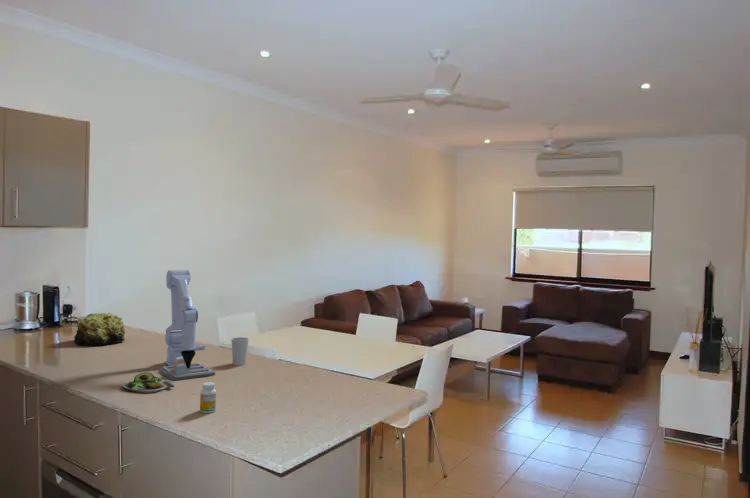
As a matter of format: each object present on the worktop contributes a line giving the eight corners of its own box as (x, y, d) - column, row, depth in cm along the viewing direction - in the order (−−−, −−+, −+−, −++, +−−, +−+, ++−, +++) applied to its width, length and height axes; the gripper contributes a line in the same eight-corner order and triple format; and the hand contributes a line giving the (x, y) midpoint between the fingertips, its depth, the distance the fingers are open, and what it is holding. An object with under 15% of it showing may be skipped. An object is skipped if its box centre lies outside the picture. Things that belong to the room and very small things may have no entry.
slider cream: (175, 367, 250) (175, 357, 249) (184, 366, 252) (184, 356, 252) (177, 369, 247) (177, 358, 247) (186, 368, 250) (186, 358, 249)
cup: (243, 366, 262) (244, 341, 262) (227, 364, 264) (228, 339, 263) (250, 362, 270) (251, 338, 270) (235, 361, 271) (236, 336, 271)
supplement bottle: (201, 408, 200) (202, 381, 200) (217, 408, 200) (218, 381, 200) (198, 413, 194) (199, 385, 194) (214, 413, 195) (215, 385, 195)
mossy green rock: (109, 336, 319) (110, 308, 318) (133, 342, 305) (134, 313, 304) (64, 342, 298) (65, 312, 298) (87, 349, 284) (88, 318, 284)
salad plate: (186, 385, 229) (186, 374, 228) (157, 397, 212) (157, 385, 211) (147, 379, 234) (147, 368, 234) (115, 390, 217) (116, 379, 217)
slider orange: (173, 371, 243) (174, 360, 243) (183, 370, 246) (183, 360, 246) (176, 372, 241) (176, 362, 241) (185, 371, 243) (185, 361, 243)
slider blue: (174, 374, 238) (175, 364, 237) (184, 373, 240) (184, 363, 240) (176, 376, 235) (177, 365, 235) (186, 375, 238) (186, 364, 237)
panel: (159, 371, 247) (159, 366, 247) (201, 366, 258) (201, 362, 258) (171, 380, 233) (171, 376, 233) (215, 375, 244) (215, 370, 244)
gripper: (174, 340, 237) (173, 371, 238) (207, 337, 246) (206, 367, 246) (169, 337, 243) (168, 367, 243) (202, 334, 252) (201, 364, 252)
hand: (187, 367), depth 245 cm, fingers closed
